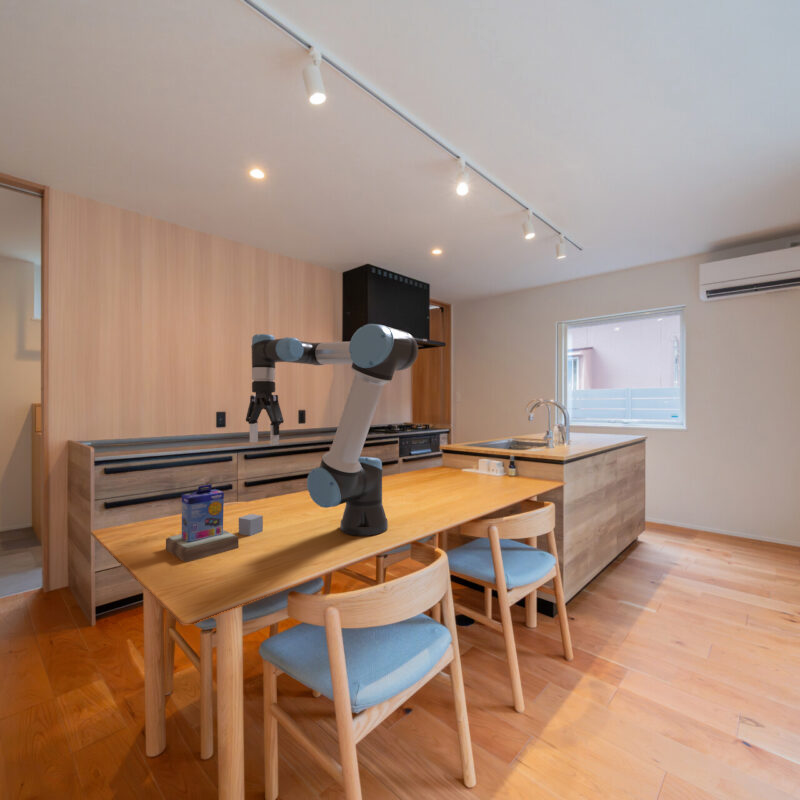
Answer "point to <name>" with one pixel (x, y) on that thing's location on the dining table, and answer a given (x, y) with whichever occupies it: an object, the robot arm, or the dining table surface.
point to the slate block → (250, 524)
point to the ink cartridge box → (202, 514)
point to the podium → (201, 546)
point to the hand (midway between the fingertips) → (263, 443)
